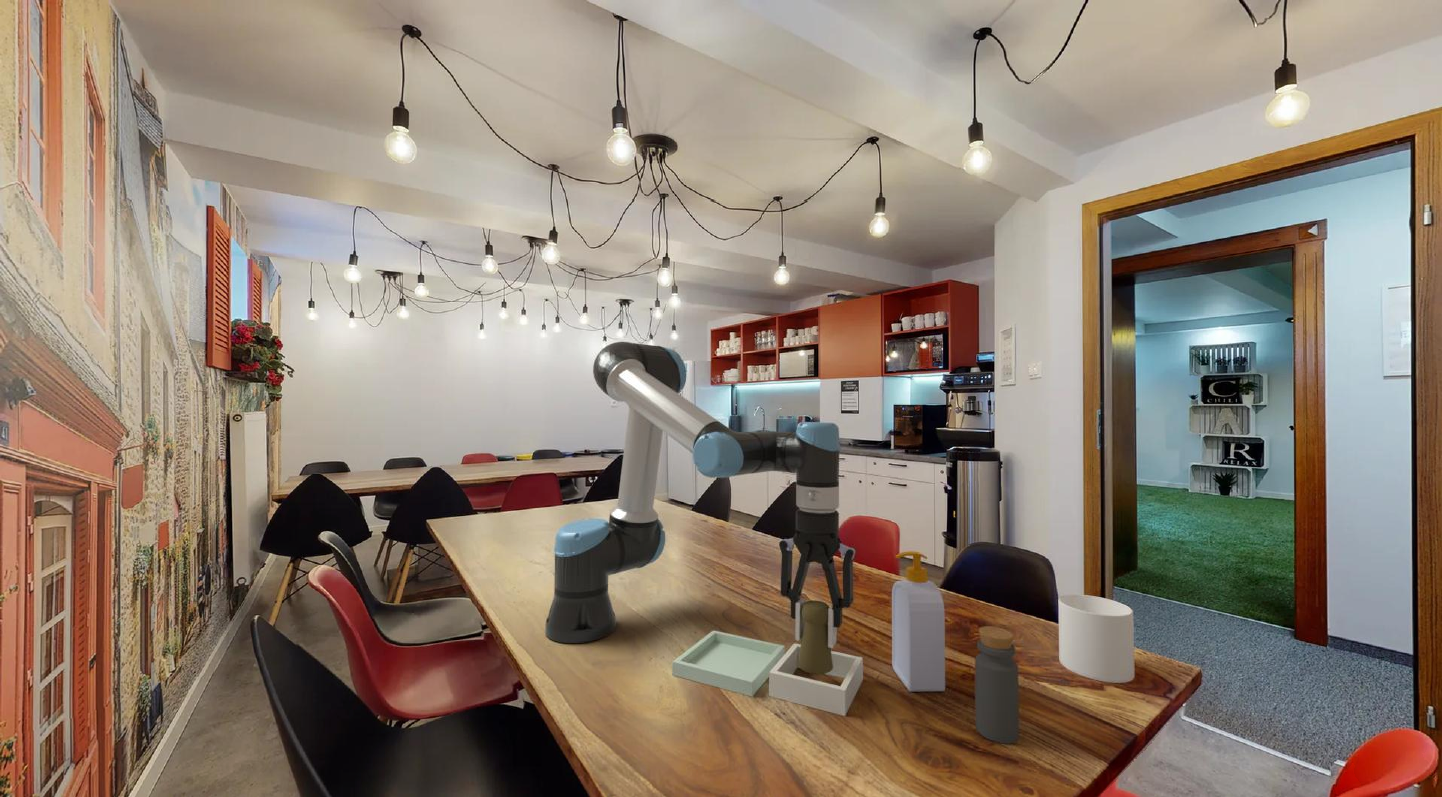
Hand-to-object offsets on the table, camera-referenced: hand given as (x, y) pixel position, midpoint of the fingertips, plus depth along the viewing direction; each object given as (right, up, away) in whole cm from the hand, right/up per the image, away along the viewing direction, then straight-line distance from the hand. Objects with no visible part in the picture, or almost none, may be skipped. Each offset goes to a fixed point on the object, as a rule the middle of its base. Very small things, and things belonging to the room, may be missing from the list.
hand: (815, 640), depth 93 cm
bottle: (+25, -8, -13) cm, 29 cm away
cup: (+55, -9, +8) cm, 56 cm away
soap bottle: (+19, -8, +3) cm, 21 cm away
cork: (0, -4, 0) cm, 4 cm away
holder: (0, -8, 0) cm, 8 cm away
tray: (-15, -8, +7) cm, 19 cm away
